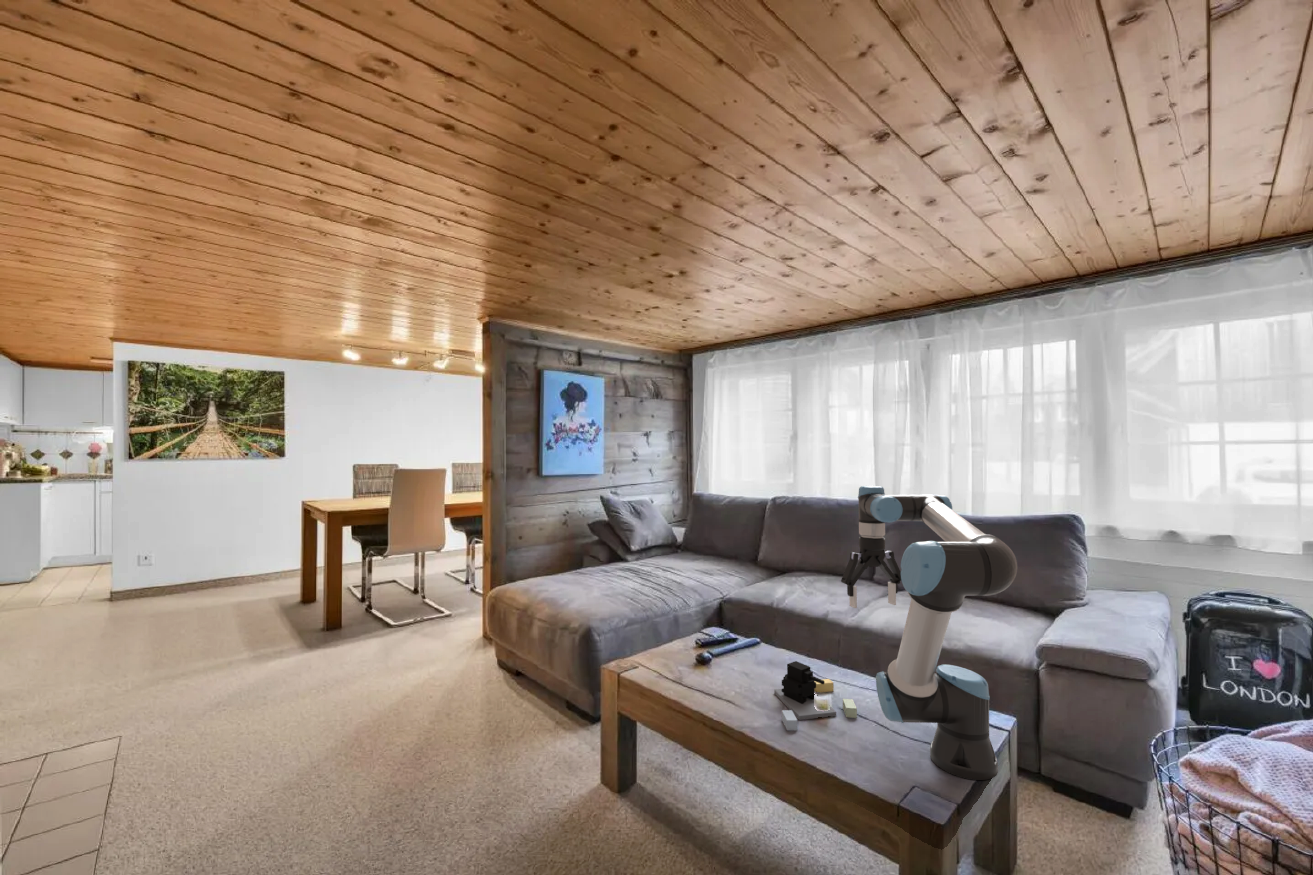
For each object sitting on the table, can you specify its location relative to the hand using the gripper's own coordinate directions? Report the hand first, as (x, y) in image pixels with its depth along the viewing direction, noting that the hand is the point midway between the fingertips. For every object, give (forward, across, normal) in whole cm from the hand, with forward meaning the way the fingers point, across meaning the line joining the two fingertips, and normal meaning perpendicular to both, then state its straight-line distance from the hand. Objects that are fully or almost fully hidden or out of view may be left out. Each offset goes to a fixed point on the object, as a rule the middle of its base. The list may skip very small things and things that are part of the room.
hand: (872, 605), depth 170 cm
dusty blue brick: (+32, +29, +2) cm, 44 cm away
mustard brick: (+32, +8, -16) cm, 37 cm away
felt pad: (+32, +19, -9) cm, 38 cm away
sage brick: (+32, +8, 0) cm, 33 cm away
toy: (+31, +18, -9) cm, 37 cm away
